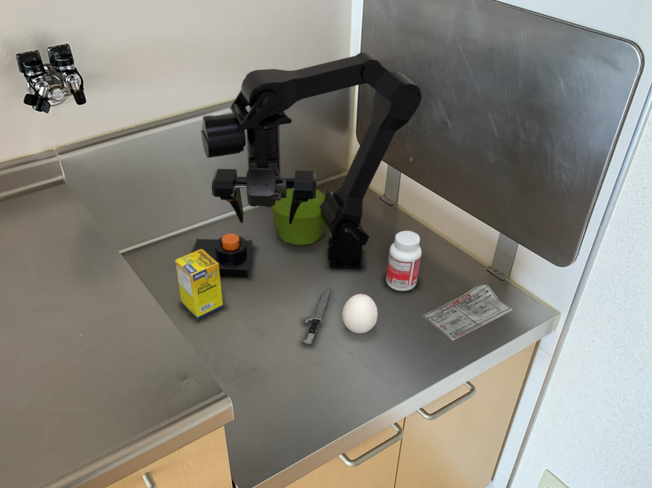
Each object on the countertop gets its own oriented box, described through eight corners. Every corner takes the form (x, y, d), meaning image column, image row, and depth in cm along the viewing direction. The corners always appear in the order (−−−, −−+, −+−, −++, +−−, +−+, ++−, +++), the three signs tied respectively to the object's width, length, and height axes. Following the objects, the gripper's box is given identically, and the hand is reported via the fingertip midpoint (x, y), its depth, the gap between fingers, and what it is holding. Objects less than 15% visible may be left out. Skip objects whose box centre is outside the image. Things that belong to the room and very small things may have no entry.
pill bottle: (407, 270, 126) (414, 225, 119) (422, 288, 122) (430, 243, 115) (380, 276, 125) (385, 232, 117) (394, 295, 120) (400, 250, 113)
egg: (340, 317, 116) (342, 285, 110) (374, 317, 115) (378, 285, 110) (341, 341, 111) (344, 308, 106) (377, 341, 111) (381, 309, 105)
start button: (240, 240, 128) (240, 233, 127) (238, 251, 125) (238, 244, 124) (223, 240, 128) (222, 233, 127) (221, 250, 126) (220, 243, 124)
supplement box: (224, 307, 118) (219, 262, 111) (197, 320, 115) (191, 275, 108) (207, 291, 121) (202, 247, 114) (181, 304, 119) (174, 259, 111)
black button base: (252, 248, 132) (251, 233, 129) (248, 277, 125) (247, 262, 122) (197, 247, 133) (195, 232, 130) (189, 276, 125) (187, 260, 122)
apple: (335, 247, 132) (338, 203, 125) (281, 257, 130) (280, 212, 122) (316, 216, 141) (318, 173, 134) (265, 225, 139) (264, 181, 131)
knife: (297, 343, 110) (313, 345, 110) (297, 340, 110) (313, 342, 109) (317, 289, 122) (332, 291, 121) (317, 286, 121) (332, 288, 120)
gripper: (203, 169, 101) (211, 246, 111) (316, 172, 100) (314, 249, 110) (212, 138, 109) (219, 212, 119) (317, 140, 108) (315, 214, 118)
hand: (266, 222), depth 117 cm, fingers open, 9 cm apart
